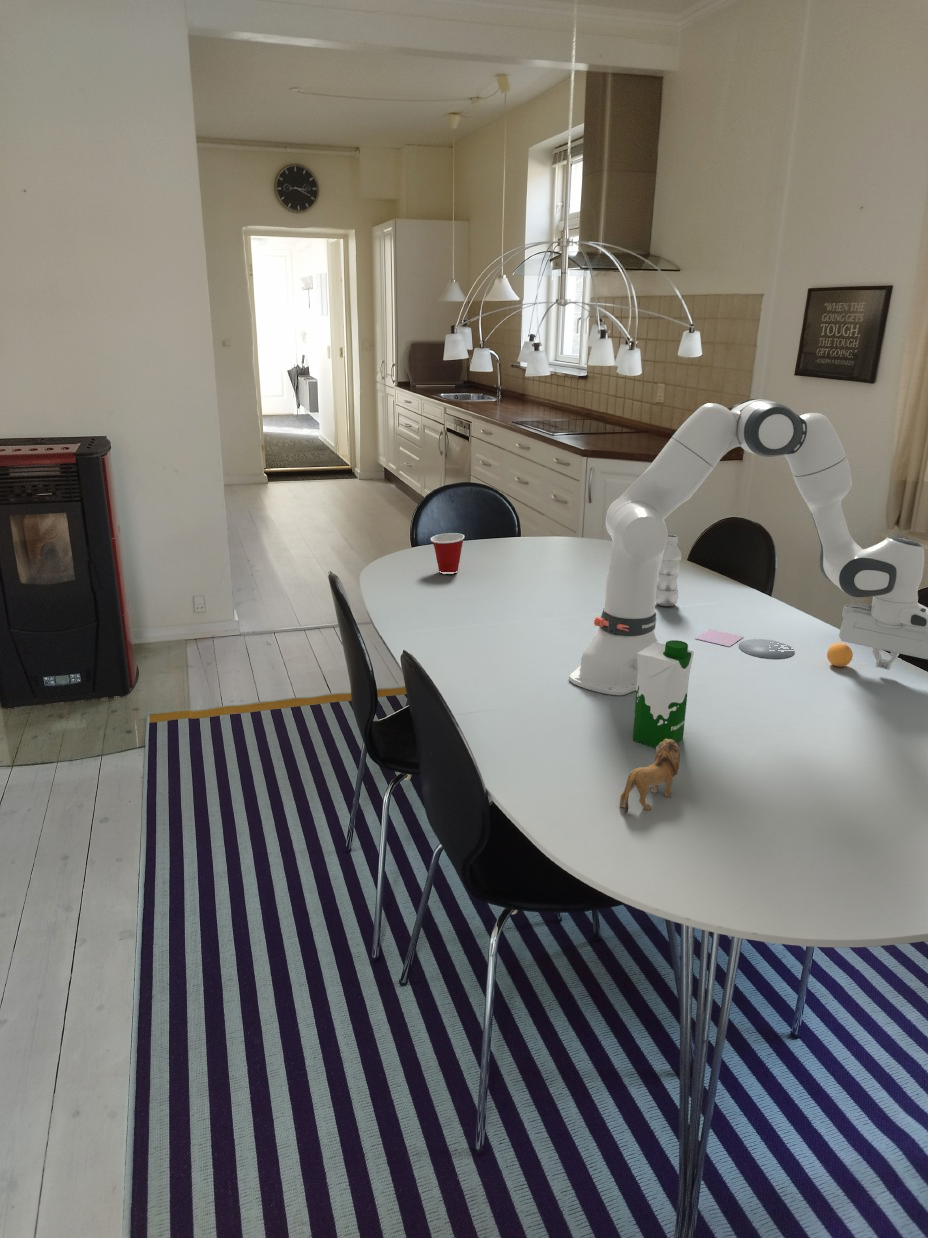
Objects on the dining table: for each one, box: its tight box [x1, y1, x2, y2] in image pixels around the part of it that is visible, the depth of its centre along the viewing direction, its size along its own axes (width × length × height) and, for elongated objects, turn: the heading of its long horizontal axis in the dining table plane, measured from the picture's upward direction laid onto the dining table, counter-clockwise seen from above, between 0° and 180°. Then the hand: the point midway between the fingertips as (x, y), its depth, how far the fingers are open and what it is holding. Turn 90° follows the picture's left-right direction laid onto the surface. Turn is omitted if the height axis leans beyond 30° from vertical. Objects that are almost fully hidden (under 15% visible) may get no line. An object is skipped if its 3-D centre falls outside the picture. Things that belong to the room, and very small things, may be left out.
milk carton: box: [632, 639, 695, 749], centre depth 160 cm, size 9×9×20 cm
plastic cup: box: [430, 532, 465, 572], centre depth 271 cm, size 11×11×12 cm
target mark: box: [738, 638, 795, 660], centre depth 209 cm, size 13×13×1 cm
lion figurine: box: [619, 739, 681, 815], centre depth 141 cm, size 15×5×9 cm, turn 138°
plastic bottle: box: [655, 534, 682, 607], centre depth 238 cm, size 6×7×20 cm
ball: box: [826, 642, 854, 668], centre depth 198 cm, size 6×6×6 cm
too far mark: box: [694, 628, 744, 648], centre depth 216 cm, size 9×9×1 cm
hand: (883, 667), depth 193 cm, fingers closed
